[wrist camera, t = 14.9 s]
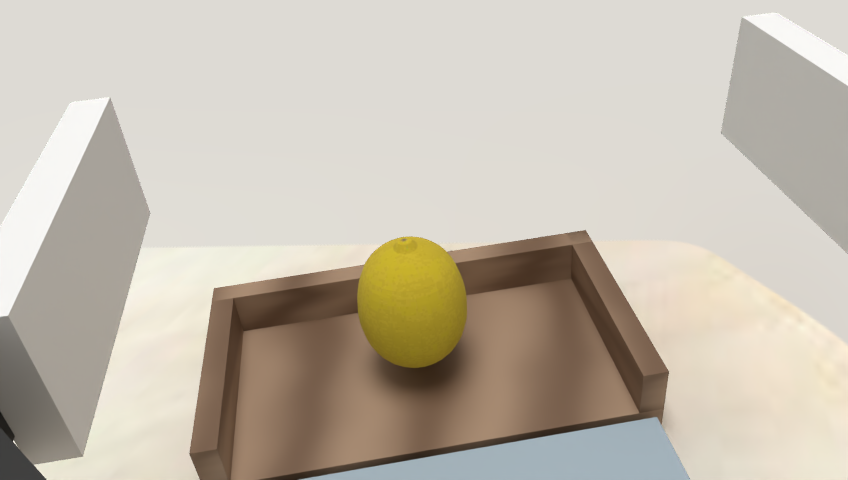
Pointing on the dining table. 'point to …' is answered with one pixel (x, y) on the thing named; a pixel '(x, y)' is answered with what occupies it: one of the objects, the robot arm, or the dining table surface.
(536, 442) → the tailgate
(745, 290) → the dining table surface
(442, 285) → the lemon
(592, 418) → the brown wooden tray
